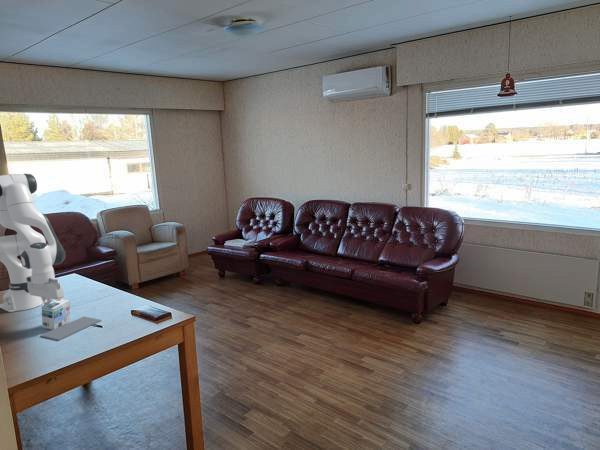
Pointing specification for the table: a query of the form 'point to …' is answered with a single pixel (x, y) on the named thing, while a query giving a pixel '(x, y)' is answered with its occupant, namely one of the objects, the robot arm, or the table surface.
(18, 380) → the table surface
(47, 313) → the light bulb box
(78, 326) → the pad
